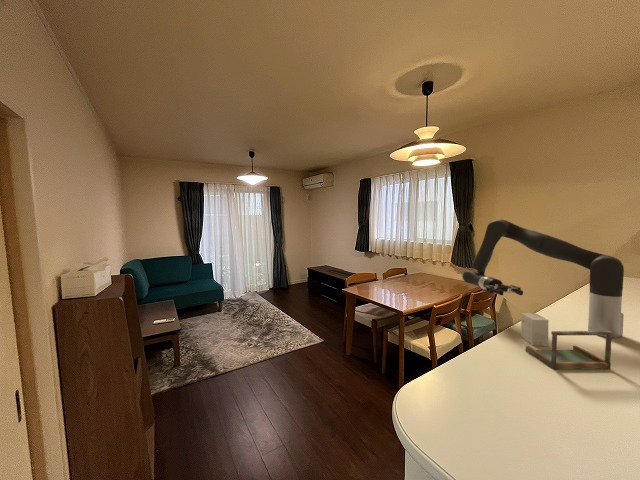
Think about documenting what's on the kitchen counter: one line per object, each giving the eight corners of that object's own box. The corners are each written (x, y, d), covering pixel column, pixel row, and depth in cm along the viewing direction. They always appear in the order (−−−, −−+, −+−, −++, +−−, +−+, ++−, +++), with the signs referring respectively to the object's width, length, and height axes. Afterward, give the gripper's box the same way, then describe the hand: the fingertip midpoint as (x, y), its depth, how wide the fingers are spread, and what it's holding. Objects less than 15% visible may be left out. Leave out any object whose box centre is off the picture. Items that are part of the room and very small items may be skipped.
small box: (548, 346, 100) (549, 320, 99) (532, 345, 101) (532, 319, 100) (535, 337, 107) (536, 313, 107) (520, 336, 108) (521, 312, 108)
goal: (575, 351, 96) (577, 318, 95) (611, 369, 83) (612, 332, 83) (525, 351, 96) (526, 318, 96) (553, 369, 84) (554, 332, 84)
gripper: (476, 277, 132) (496, 285, 116) (504, 277, 131) (528, 285, 115) (476, 291, 133) (495, 301, 116) (504, 291, 132) (528, 301, 116)
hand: (512, 293), depth 116 cm, fingers open, 8 cm apart
